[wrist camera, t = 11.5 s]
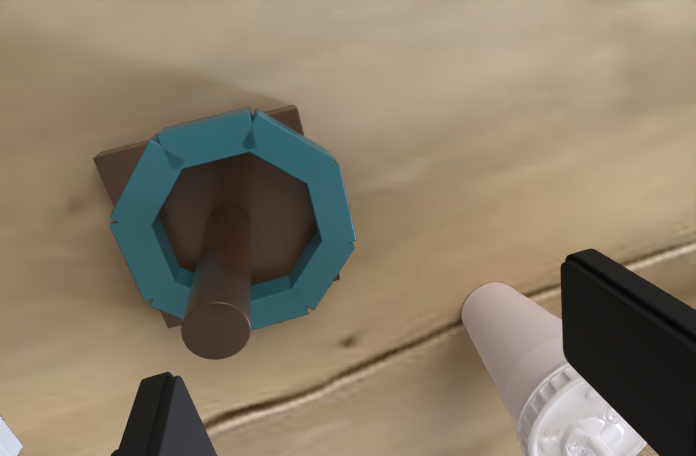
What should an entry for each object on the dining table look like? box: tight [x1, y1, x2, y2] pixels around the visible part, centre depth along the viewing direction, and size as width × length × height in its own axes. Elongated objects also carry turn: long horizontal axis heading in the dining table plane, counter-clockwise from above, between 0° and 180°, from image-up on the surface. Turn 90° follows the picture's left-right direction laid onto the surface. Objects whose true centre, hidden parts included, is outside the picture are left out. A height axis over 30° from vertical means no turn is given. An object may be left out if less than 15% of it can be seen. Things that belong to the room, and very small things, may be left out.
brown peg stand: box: [93, 105, 340, 359], centre depth 18 cm, size 9×9×10 cm
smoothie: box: [461, 282, 647, 456], centre depth 22 cm, size 6×6×14 cm
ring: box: [110, 108, 356, 331], centre depth 21 cm, size 10×10×2 cm
